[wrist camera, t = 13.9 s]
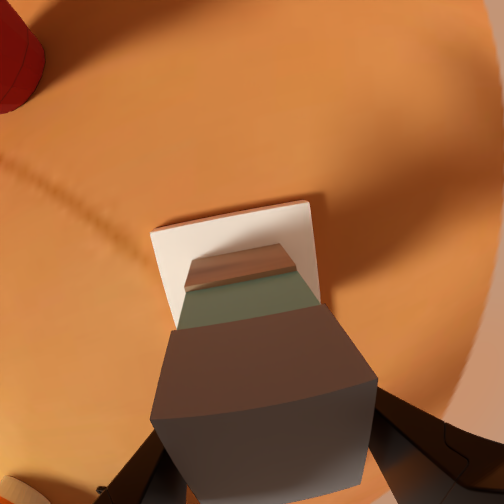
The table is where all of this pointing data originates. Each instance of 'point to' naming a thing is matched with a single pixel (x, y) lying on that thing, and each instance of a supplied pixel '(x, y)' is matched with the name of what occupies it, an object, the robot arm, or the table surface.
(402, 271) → the table surface
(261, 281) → the teal brick
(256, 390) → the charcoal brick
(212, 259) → the walnut brick
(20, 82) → the plastic cup
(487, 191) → the table surface
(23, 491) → the reusable coffee cup
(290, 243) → the base plate
